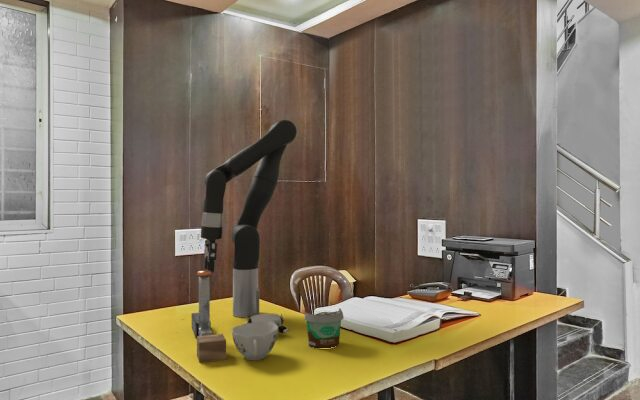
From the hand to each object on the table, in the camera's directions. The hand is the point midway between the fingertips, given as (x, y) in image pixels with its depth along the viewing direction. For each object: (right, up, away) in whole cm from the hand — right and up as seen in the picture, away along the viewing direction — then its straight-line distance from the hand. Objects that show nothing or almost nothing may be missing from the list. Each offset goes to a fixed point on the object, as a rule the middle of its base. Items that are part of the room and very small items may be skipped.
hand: (208, 270), depth 166 cm
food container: (+42, -18, -32) cm, 56 cm away
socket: (+11, -17, -41) cm, 46 cm away
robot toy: (+23, -18, -18) cm, 34 cm away
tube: (+3, -16, -21) cm, 27 cm away
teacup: (+23, -18, -41) cm, 50 cm away
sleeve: (+1, -17, -17) cm, 24 cm away
